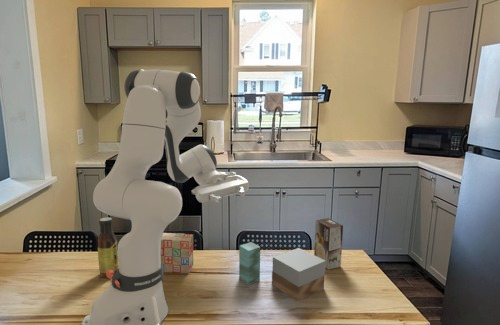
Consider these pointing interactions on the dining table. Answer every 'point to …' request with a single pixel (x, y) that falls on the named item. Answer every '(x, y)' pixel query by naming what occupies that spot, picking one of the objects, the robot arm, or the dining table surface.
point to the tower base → (296, 291)
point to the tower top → (299, 266)
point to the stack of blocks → (177, 252)
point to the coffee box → (328, 242)
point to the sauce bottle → (107, 247)
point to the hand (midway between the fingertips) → (231, 197)
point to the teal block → (249, 263)
